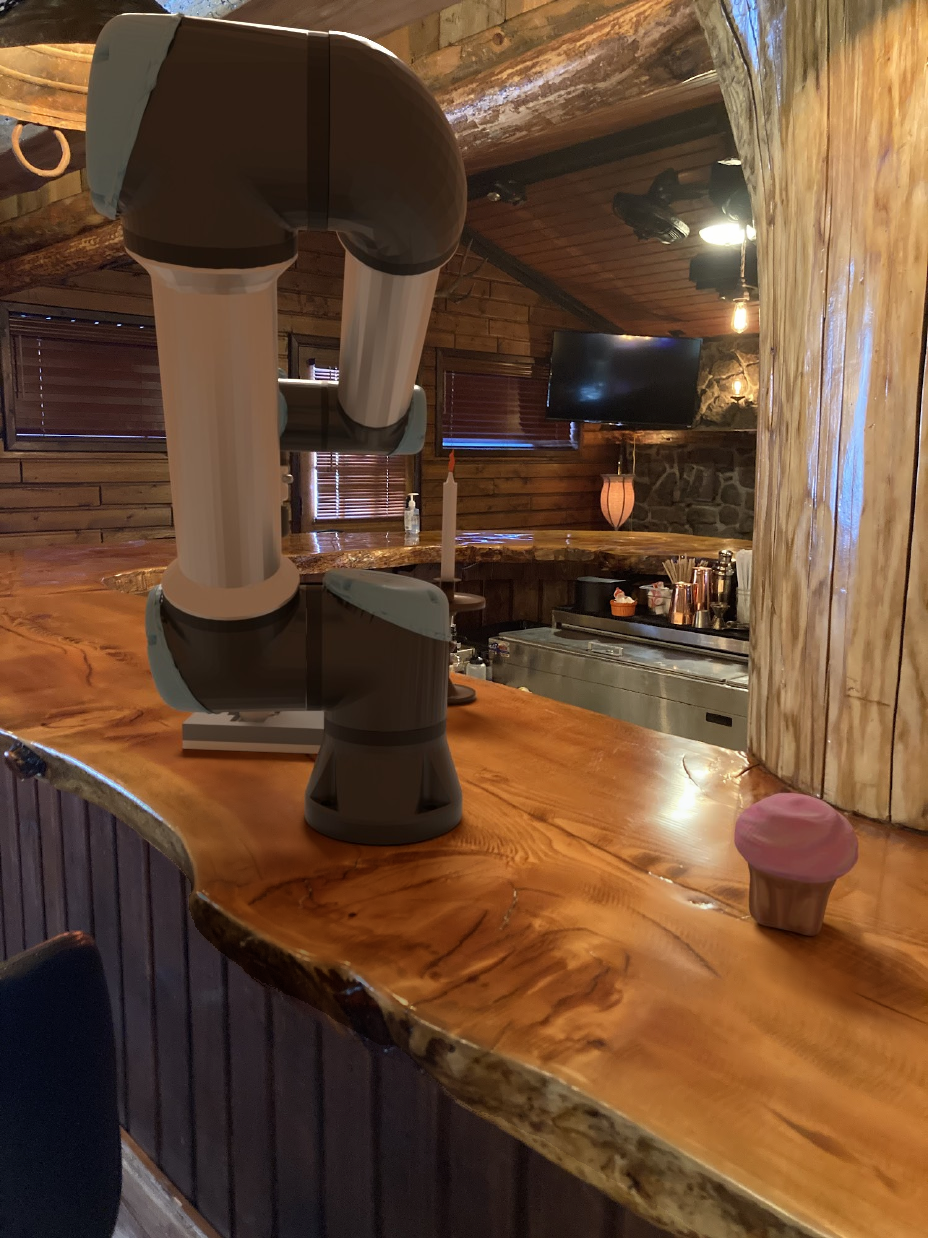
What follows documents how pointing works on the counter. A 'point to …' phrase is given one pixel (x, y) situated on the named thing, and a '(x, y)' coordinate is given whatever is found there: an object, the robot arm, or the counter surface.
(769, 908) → the cupcake
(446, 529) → the candlestick
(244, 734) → the grey panel with recess
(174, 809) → the counter surface
